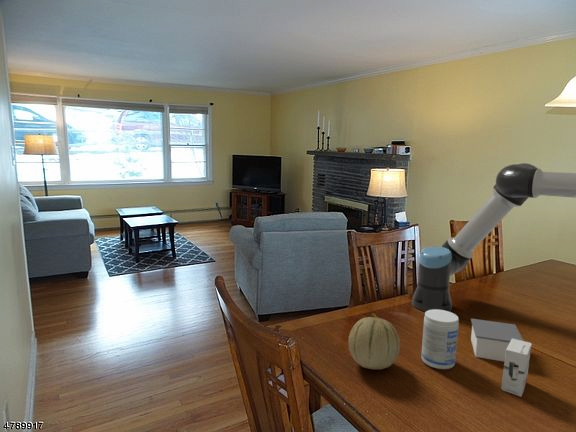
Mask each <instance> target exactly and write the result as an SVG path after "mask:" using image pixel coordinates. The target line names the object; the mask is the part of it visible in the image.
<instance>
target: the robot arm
mask: <svg viewBox="0 0 576 432" xmlns="http://www.w3.org/2000/svg"><path fill="white" fill-rule="evenodd" d="M495 178H496V179H495V184H494V185H493V187H492V190H493V193H492V194H491V195H490V196H489V197H488V198H487V200H486V201H485V202H484V203H483V205H481V207H479V209H478V210H477V211H476V213H474V215H473V216H472V217H471V218H470V219H469V221H468V222H466V223H465V225H464V226H463V227H462V228H461V229H460V231H459V232H458V233H457V234H456V235H455V237H449V238H447V240H446V241H445V242H444V243H443V244H442V245H441V246H427V247H424V248H422V250H420V254H419V257H418V259H419V261H418V262H419V263H418V276H417V277H418V278H417V287H416V289H415V290H414V293H413V295H412V299H411V305H412V306H413V307H414V308H416V309H417V310H419V311H422V312H424V313H425V312H426V311H428V310H433V309H437V310H445V311H449V312H451V311H452V308H453V302H452V299H451V293H450V291H449V289H450V288H449V287H450V277H451V276H453V275H454V274H455V275H456V274H457V273H459V272H461V271H463V270H464V269H465V268H466V267H467V265H468V264H469V262H470V260H472V258H473V257H474V251H475V249H476V247H478V246H479V245H480V243H482V242H483V240H484V239H486V237H488V235H489V234H490V233H491V232H492V231H493V230H494V228H496V227H497V226H498V225H499V223H500V222H501V221H502V220H503V219H504V218H505V217H506V216H507V215H508V214H509V212H511V210H513V208H515V207H517V208H518V207H521V206H522V205H523V204H524V203H525V202H526V201H527V200H528V199H530V198H533V199H536V198H538V197H540V196H547V197H561V198H562V197H563V198H575V199H576V173H575V172H553V171H543V170H542V169H541V168H539V167H537V166H535V165H532V164H531V163H523V162H522V163H517V164H515V163H514V164H510V165H507V166H504V167H503V168H501V170H500V171H499V172H498V173H497V175H496V177H495Z"/></svg>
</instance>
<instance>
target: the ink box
mask: <svg viewBox="0 0 576 432" xmlns="http://www.w3.org/2000/svg"><path fill="white" fill-rule="evenodd" d="M531 350H532V343H531V342H529V341H521V340H517V339H513V338H512V339H511V341H510V343H509V345H508V347H507V349H506V354H505V362H504V364H503V372H502V381H501V390H502V391H504V392H507V393H508V394H509V393H510V394H512V395H514V396H518V397H522V396H523V394H524V391H525V388H526V385H527V382H528V374H529V366H530V358H531Z"/></svg>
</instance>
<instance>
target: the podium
mask: <svg viewBox="0 0 576 432" xmlns="http://www.w3.org/2000/svg"><path fill="white" fill-rule="evenodd" d="M470 323H471V335H470V341H471V345H472V349H473V353H474V356H475V358H482V359H486V360H494V361H498V362H499V361H500V362H504V363H505V354H506V349H507V347H508V345H509V343H510V341H511V339H512V338H513V339H517V340H521V341H524V338H523V337H522V335H521V333H520V331H519V330H518V327H517V326H516V324H515V323H514V324H513V323H507V322H506V323H505V322H500V321H492V320H485V319H476V318H470Z"/></svg>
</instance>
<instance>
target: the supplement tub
mask: <svg viewBox="0 0 576 432" xmlns="http://www.w3.org/2000/svg"><path fill="white" fill-rule="evenodd" d="M459 325H460V323H459V316H458V315H457V314H456V313H453V312H451V311H445V310H437V309H433V310H428V311H426V312H425V311H424V318H423V326H422V327H423V328H422V329H423V330H422V342H421V343H422V344H421V353H420V355H421V360H422V361H423V363H425V365H427V366H428V367H431V368H434V369H436V370H449V369H452V368H453V367H454V366H455V365H456V361H457V360H456V357H457V348H458V347H457V346H458V336H459V335H458V334H459Z"/></svg>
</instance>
